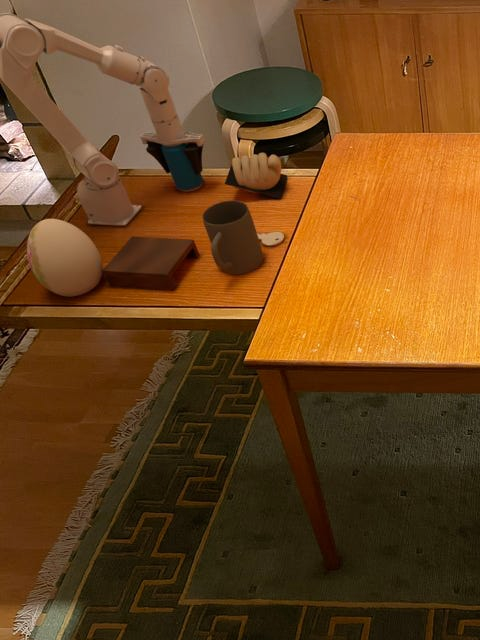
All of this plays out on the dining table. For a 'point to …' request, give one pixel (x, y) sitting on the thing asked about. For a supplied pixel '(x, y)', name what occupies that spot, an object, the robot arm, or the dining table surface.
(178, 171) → the beverage can
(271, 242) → the key
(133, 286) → the shelf
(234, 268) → the mug
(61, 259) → the decorative egg
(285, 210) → the dining table surface
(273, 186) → the decorative object
